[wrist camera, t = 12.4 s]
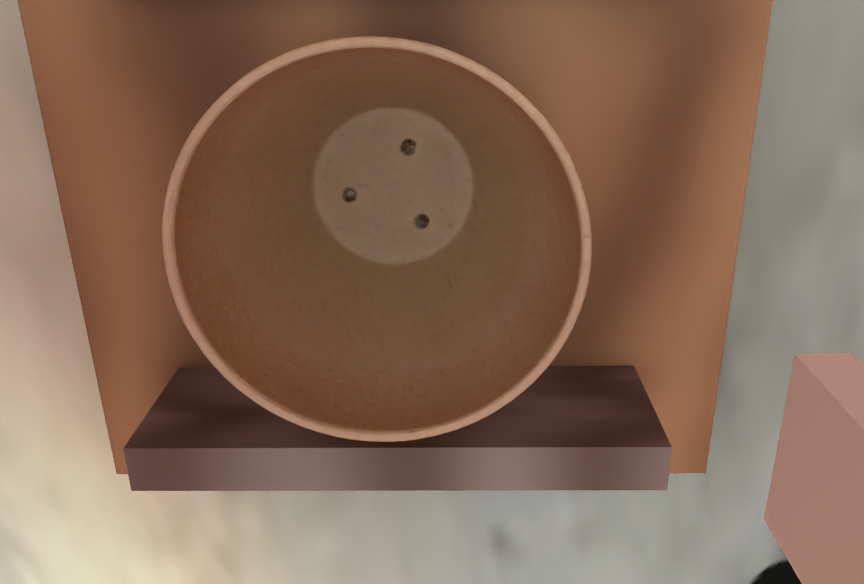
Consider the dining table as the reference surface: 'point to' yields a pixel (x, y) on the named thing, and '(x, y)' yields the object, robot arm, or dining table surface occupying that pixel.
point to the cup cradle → (564, 110)
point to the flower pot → (377, 239)
